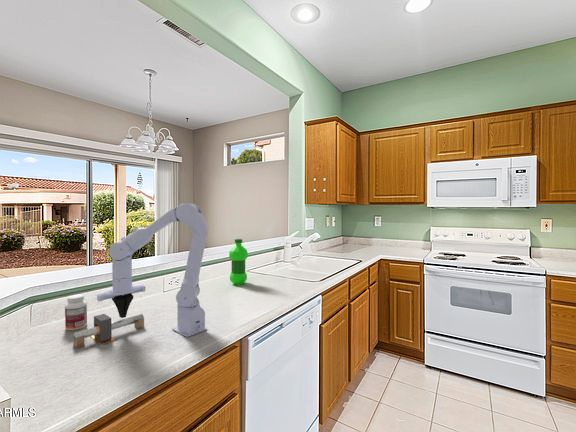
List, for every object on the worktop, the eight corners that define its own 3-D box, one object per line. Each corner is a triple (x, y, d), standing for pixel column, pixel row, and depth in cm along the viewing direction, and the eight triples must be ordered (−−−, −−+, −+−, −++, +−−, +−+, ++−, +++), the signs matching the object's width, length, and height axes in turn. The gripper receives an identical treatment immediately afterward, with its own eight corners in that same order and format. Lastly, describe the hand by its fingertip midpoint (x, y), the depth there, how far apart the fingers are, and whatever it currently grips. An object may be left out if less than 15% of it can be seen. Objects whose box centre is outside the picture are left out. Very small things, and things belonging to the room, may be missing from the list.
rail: (136, 323, 106) (136, 311, 105) (148, 329, 100) (148, 316, 100) (70, 342, 90) (70, 328, 90) (80, 351, 84) (79, 337, 84)
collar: (104, 333, 96) (104, 313, 96) (111, 338, 92) (111, 318, 92) (94, 336, 94) (93, 316, 93) (101, 341, 90) (100, 320, 90)
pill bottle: (72, 323, 104) (72, 293, 104) (90, 323, 105) (90, 293, 105) (60, 331, 98) (60, 299, 98) (80, 330, 99) (79, 298, 98)
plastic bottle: (232, 281, 167) (232, 238, 166) (249, 281, 165) (250, 238, 165) (226, 285, 157) (226, 240, 156) (244, 286, 155) (245, 240, 155)
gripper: (138, 271, 105) (139, 308, 106) (93, 279, 94) (93, 320, 94) (148, 274, 101) (148, 312, 101) (101, 282, 89) (102, 326, 90)
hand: (122, 316), depth 97 cm, fingers closed
